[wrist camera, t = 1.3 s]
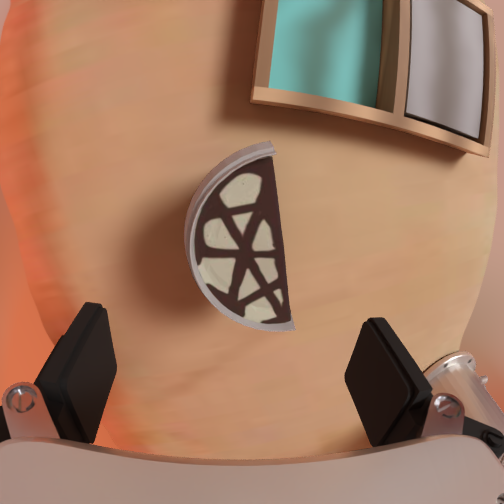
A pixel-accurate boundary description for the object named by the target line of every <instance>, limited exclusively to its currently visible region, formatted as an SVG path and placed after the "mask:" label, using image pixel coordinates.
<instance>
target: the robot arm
mask: <svg viewBox="0 0 504 504" xmlns="http://www.w3.org/2000/svg"><path fill="white" fill-rule="evenodd" d="M475 366H476V363H475V359H474V357H473V356H472V355H471V354H470V353H468V352H463V351H461V352H456V353H453V354H450V355H448V356H446V357H444V358H442V359H441V360H439V361H438V362H436V363H435V364H434V365H432V366H431V367H430V368H429V369H428V370H427V371H425V372H424V374H423V373H422V371H421V370H420V368H419V367H418V365H417V364H416V362H415V361H414V359H413V358H412V357H411V355H410V354H409V352H408V351H407V349H406V348H405V346H404V345H403V344H402V342H401V341H400V339H399V338H398V336H397V335H396V334H395V332H394V331H393V329H392V328H391V326H390V325H389V324H388V322H387V321H386V320H385V318H382V317H379V318H369V319H368V320H367V321H366V322H364V323H363V325H362V328H361V331H360V334H359V337H358V340H357V342H356V345H355V348H354V351H353V353H352V356H351V359H350V361H349V364H348V367H347V369H346V372H345V382H346V385H347V387H348V390H349V392H350V394H351V397H352V399H353V402H354V404H355V406H356V409H357V411H358V414H359V416H360V419H361V421H362V424H363V426H364V429H365V431H366V434H367V436H368V439H369V441H370V444H371V445H372V446H373V447H372V448H367V449H361V450H355V451H349V452H342V453H335V454H327V455H318V456H308V457H297V458H282V459H258V460H224V459H199V458H184V457H172V456H163V455H154V454H146V453H139V452H132V451H126V450H119V449H113V448H108V447H102V446H97V445H92V444H93V443H94V441H95V438H96V434H97V430H98V428H99V424H100V421H101V418H102V415H103V411H104V408H105V405H106V402H107V399H108V396H109V393H110V390H111V387H112V384H113V381H114V378H115V375H116V371H117V364H116V359H115V354H114V349H113V344H112V338H111V332H110V327H109V321H108V314H107V310H106V309H105V308H103V307H102V305H101V304H98V303H90V302H86V303H85V304H84V305H83V307H82V308H81V310H80V311H79V313H78V314H77V316H76V318H75V319H74V321H73V322H72V324H71V325H70V327H69V329H68V330H67V332H66V334H65V335H62V336H61V338H60V339H59V341H58V342H57V344H56V346H55V347H54V349H53V351H52V352H51V354H50V356H49V357H48V359H47V361H46V362H45V364H44V366H43V368H42V369H41V371H40V373H39V375H38V377H37V378H36V380H35V382H34V384H32V383H29V382H20V383H15V384H13V385H11V386H10V387H9V388H8V389H6V391H5V392H4V394H3V397H2V406H0V504H504V413H503V412H502V411H501V409H500V408H499V406H498V405H497V404H496V402H495V401H494V400H493V398H492V397H491V396H490V394H489V393H488V392H487V390H486V386H485V385H484V384H485V383H487V381H488V378H487V376H481V377H479V376H478V375H477V374H476V372H475ZM89 443H92V444H89Z"/></svg>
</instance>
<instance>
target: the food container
mask: <svg viewBox="0 0 504 504" xmlns="http://www.w3.org/2000/svg"><path fill="white" fill-rule="evenodd" d="M275 154H276V152H275V151H274V146H273V145H272V143H271V142H270V141H267V142H262V143H258V144H254V145H251V146H249V147H246V148H244V149H241V150H239V151H237V152H235V153H234V154H232V155H230V156H229V157H227V158H226V159H224V160H223V161H222V162H220V163H219V164H218V165H217V166H216V167H215V168H213V169H212V170H211V171H210V173H209V174H208V175H207V176H206V177H205V178H204V180H203V181H202V182H201V183H200V185H199V187H198V189H197V190H196V192H195V194H194V195H193V197H192V200H191V203H190V205H189V208H188V211H187V215H186V220H185V225H184V244H185V250H186V256H187V260H188V264H189V267H190V270H191V273H192V276H193V278H194V280H195V282H196V284H197V285H198V287H199V289H200V290H201V292H202V293H203V294H204V296H205V297H206V298H207V299H208V300H209V301H210V302H211V304H213V305H214V306H215V307H216V308H217V309H218V310H219V311H220V312H221V313H223V314H224V315H226V316H227V317H229V318H230V319H232V320H234V321H236V322H238V323H240V324H242V325H245V326H248V327H251V328H254V329H259V330H265V331H292V330H296V329H295V326H294V322H293V319H292V315H291V310H290V305H289V296H288V285H287V276H286V265H285V254H284V245H283V237H282V230H281V221H280V213H279V204H278V196H277V188H276V181H275V173H274V166H273V160H272V156H271V155H275Z"/></svg>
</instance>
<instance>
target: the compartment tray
mask: <svg viewBox="0 0 504 504" xmlns="http://www.w3.org/2000/svg"><path fill="white" fill-rule="evenodd" d="M382 8H383V10H382ZM381 35H382V36H381ZM380 52H381V53H380ZM495 87H496V47H495V29H494V18H493V10H491V9H490V8H489V7H487V6H486V5H484V4H483V3H481V2H480V1H478V0H262V5H261V13H260V21H259V29H258V37H257V45H256V53H255V62H254V70H253V79H252V87H251V96H250V103H254V104H263V105H271V106H279V107H286V108H293V109H299V110H306V111H312V112H317V113H323V114H328V115H333V116H338V117H343V118H348V119H353V120H357V121H362V122H366V123H370V124H374V125H379V126H383V127H386V128H390V129H394V130H398V131H401V132H405V133H408V134H412V135H415V136H419V137H422V138H425V139H429V140H432V141H435V142H438V143H441V144H444V145H447V146H450V147H453V148H456V149H458V150H461V151H464V152H467V153H471V154H475V155H479V156H483V157H487V158H489V152H490V145H491V137H492V128H493V118H494V106H495ZM377 88H378V89H377ZM410 118H411V119H410ZM413 119H414V120H413ZM437 127H438V128H437ZM440 128H441V129H440ZM451 132H452V133H451ZM462 136H463V137H462Z"/></svg>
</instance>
